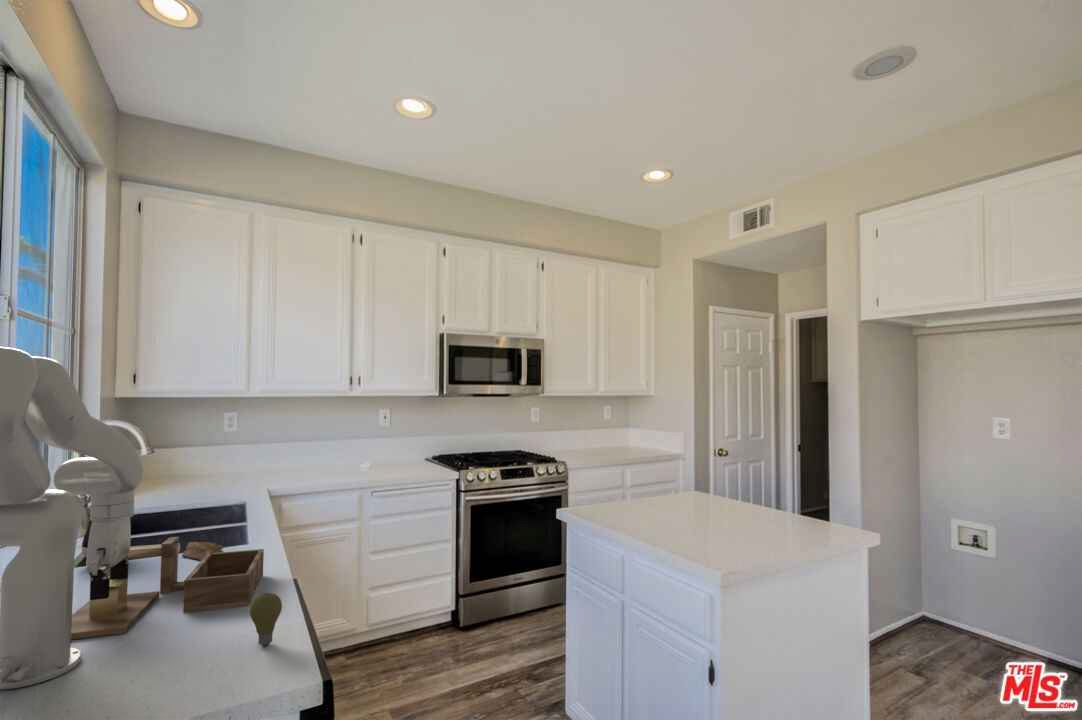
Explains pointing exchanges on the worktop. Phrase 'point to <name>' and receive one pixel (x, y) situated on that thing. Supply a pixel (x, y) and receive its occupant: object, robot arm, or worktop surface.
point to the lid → (111, 612)
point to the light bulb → (265, 615)
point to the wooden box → (213, 578)
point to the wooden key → (150, 550)
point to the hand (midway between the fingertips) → (109, 590)
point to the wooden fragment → (201, 549)
